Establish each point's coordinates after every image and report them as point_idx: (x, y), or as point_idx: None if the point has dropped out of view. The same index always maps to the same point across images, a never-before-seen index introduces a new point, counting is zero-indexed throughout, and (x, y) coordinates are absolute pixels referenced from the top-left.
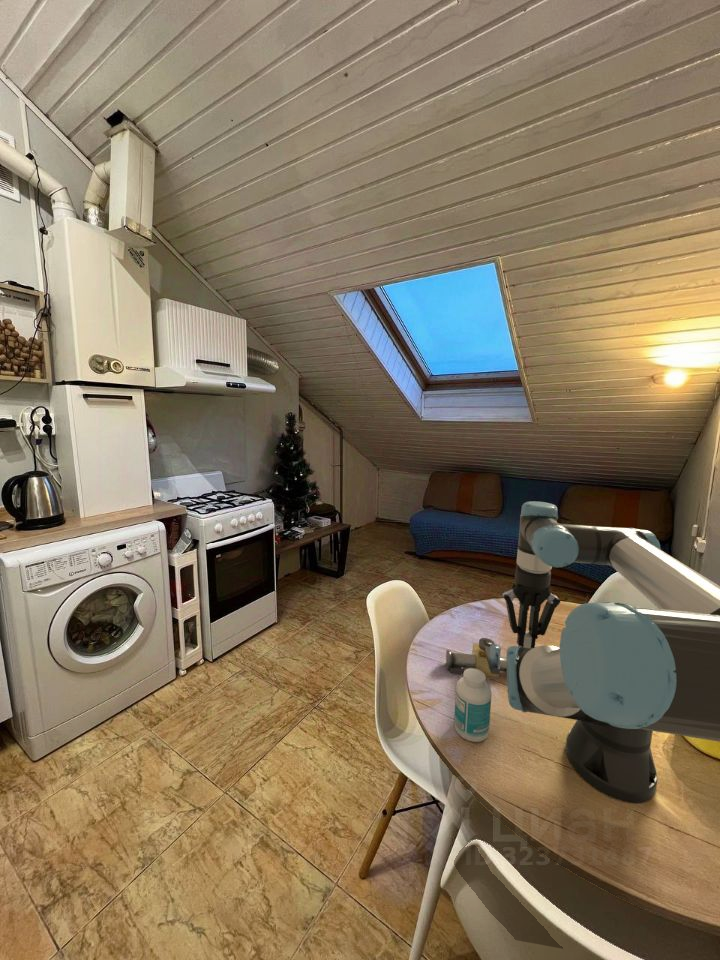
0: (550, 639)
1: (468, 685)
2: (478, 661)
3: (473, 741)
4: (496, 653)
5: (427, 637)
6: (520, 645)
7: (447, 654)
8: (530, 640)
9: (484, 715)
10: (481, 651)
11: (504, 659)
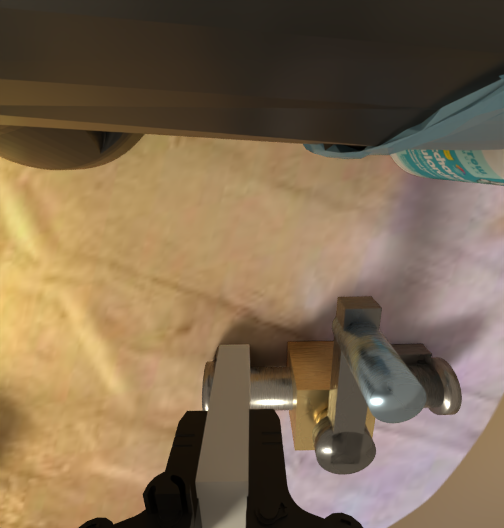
0: (106, 502)
1: None
2: None
3: None
4: (391, 362)
5: (444, 466)
6: (267, 419)
7: (457, 394)
8: (207, 457)
9: None
10: None
11: (270, 400)
